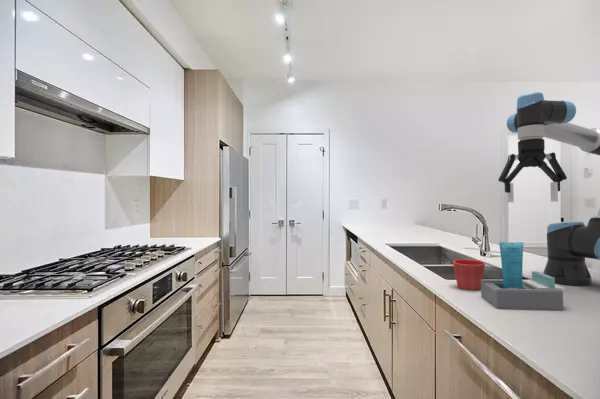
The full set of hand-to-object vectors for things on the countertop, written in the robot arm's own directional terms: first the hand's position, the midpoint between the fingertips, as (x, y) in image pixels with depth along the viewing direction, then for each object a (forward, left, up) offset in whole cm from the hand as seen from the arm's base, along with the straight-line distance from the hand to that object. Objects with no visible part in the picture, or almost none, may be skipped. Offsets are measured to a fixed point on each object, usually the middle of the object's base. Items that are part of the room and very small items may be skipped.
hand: (532, 202), depth 116 cm
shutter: (+2, +9, -26) cm, 28 cm away
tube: (+11, +9, -32) cm, 35 cm away
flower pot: (+18, -9, -32) cm, 38 cm away
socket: (+9, +9, -32) cm, 34 cm away
